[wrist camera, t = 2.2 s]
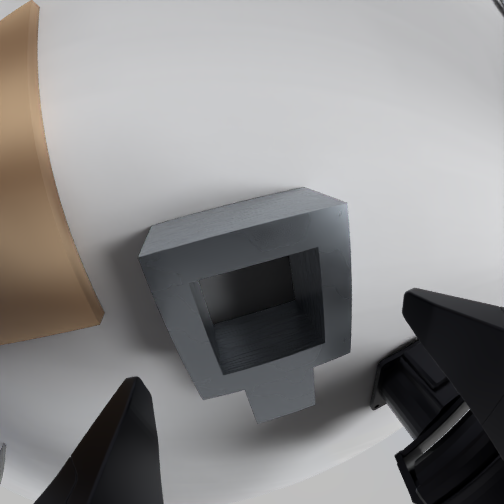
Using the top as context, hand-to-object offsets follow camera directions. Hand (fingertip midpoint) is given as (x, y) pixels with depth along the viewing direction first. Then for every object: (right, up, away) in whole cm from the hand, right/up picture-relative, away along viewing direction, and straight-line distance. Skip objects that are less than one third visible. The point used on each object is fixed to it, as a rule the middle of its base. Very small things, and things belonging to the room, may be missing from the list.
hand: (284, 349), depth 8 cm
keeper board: (-15, +6, 0) cm, 16 cm away
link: (-1, 0, +5) cm, 5 cm away
